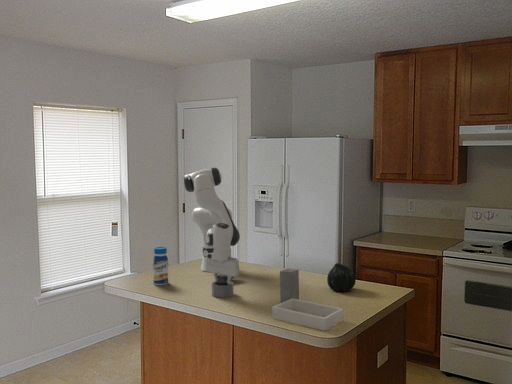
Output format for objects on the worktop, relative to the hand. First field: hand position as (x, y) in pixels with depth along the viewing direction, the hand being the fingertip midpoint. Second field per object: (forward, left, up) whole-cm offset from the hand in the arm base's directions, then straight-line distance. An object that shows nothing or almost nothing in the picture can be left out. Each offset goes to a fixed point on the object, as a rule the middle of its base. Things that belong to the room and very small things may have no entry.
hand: (222, 282), depth 249 cm
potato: (-22, -15, -6) cm, 27 cm away
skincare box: (-10, +34, -6) cm, 36 cm away
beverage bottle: (+4, -42, -6) cm, 43 cm away
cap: (0, 0, -2) cm, 2 cm away
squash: (-44, +44, -6) cm, 63 cm away
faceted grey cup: (0, 0, -6) cm, 6 cm away
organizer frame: (+6, +54, -6) cm, 55 cm away
